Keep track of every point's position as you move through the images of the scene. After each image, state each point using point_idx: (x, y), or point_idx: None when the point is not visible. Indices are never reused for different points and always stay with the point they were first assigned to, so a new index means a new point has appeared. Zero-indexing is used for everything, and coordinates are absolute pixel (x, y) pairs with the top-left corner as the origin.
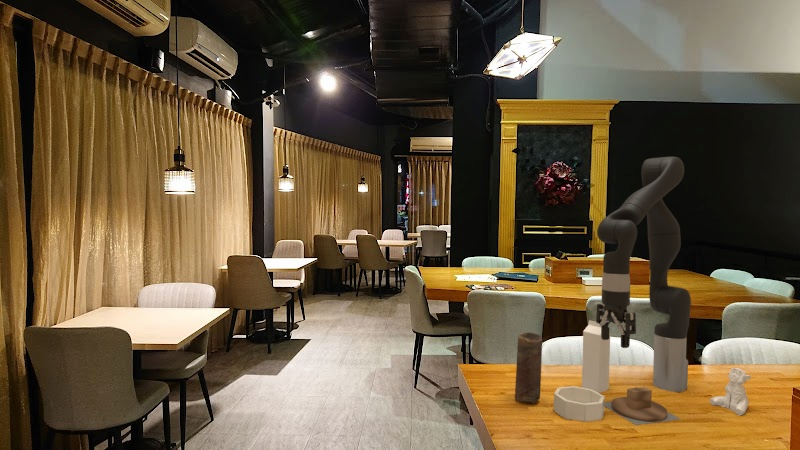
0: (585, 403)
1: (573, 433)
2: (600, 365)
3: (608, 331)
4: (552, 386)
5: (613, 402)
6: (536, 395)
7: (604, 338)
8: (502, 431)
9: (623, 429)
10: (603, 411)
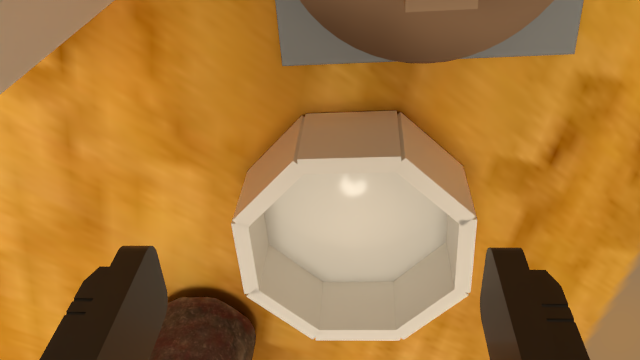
0: (457, 286)
1: None
2: (55, 24)
3: (118, 324)
4: (32, 158)
5: (340, 27)
6: (247, 343)
7: (162, 301)
8: None
9: (571, 127)
10: (423, 141)
